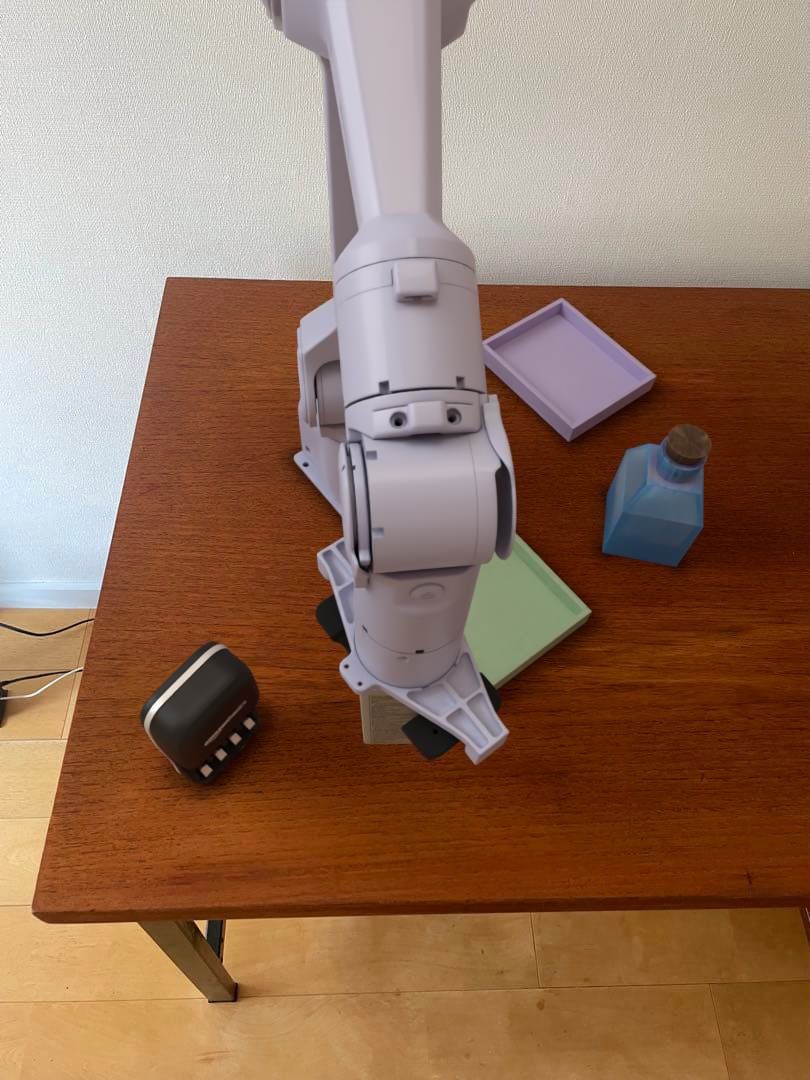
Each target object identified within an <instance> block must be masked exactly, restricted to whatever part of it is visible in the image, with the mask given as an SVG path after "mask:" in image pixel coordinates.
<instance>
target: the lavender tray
mask: <svg viewBox="0 0 810 1080" xmlns="http://www.w3.org/2000/svg"><path fill="white" fill-rule="evenodd" d="M482 343H483V354H484V365H485V366H486V367H487V369H489V370H490V371H491V372H493V374H494V375H496V377H498V378H499V379H500V380H501V381H502V382H503V383H504V384H505V385H507V387H509V388H510V389H511V390H512V391H513V392H514V393H515V394H516V395H517V396H518V397H519V398H520V399H522V400H523V401H524V402H525V403H526V404H527V405H528V407H530V408H531V409H532V410H533V411H535V413H537V414H538V416H540V417H541V418H542V419H543V420H544V421H545V422H546V423H547V424H548V425H549V426H551V428H552V429H554V430H555V431H556V432H557V433H558V434H559V435H560V436H561V437H562V438H563V439H564V440H565V441H567V442H568V443H570V442H571V441H573V440H574V439H576V438H578V437H579V436H580V435H583V434H584V433H586V432H587V431H588V430H590V429H591V428H593V427H595V426H597V425H598V424H599V423H601V422H602V421H604V420H606V419H607V418H609V417H610V416H612V415H614V414H615V413H617V412H618V411H620V410H622V409H623V408H624V407H626V406H627V405H630V404H631V403H632V402H634V401H635V400H637V399H638V398H640V397H642V396H643V395H644V394H646V393H647V392H649V391H652V387H653V385H654V383H655V382H656V378H657V375H656V374H655V373H654V372H653V371H651V370H650V369H649V368H648V367H646V366H645V365H644V364H643V363H641V362H640V360H638V359H637V358H636V357H634V356H633V355H632V354H631V353H630V352H629V351H627V350H626V349H625V348H624V347H622V346H621V345H620V344H619V343H617V341H615V340H614V339H613V338H611V336H609V335H608V334H607V333H606V332H604V330H602V329H601V328H600V327H598V326H597V324H594V323H593V322H592V321H591V320H590V319H589V318H587V317H586V315H584V314H583V313H582V312H580V311H579V310H578V309H577V308H576V307H574V306H573V305H572V304H571V303H569V302H568V301H567V300H566V299H564V298H563V297H560V298H559V299H556V300H555V301H553V302H551V303H549V304H547V305H546V306H544V307H542V308H540V309H538V310H537V311H534V312H533V313H531V314H530V315H527V316H526V317H524V318H522V319H521V320H519V321H517V322H515V323H513V324H512V325H510V326H508V327H506V328H504V329H501V331H498V332H497V333H495V334H493V335H491V336H490V337H487V338H486V339H484V340H482Z"/></svg>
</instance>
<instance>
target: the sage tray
mask: <svg viewBox="0 0 810 1080" xmlns="http://www.w3.org/2000/svg"><path fill="white" fill-rule="evenodd" d="M591 614H592V609H590V608H589V607H588V606H587V605H586V603H584V602H583V601H582V599H580V598H579V596H578V595H577V594H576V593H575V592H574V591H573V590H572V589H571V588H570V587H569V586H568V585H567V584H566V583H565V582H564V581H563V580H562V579H561V578H560V577H559V576H558V575H557V574H556V572H554V571H553V570H552V569H551V567H549V565H548V564H546V563H545V562H544V560H543V559H542V558H541V557H540V556H539V555H538V554H537V553H536V552H535V551H534V550H533V549H532V548H531V547H530V546H529V545H528V544H527V543H526V542H525V541H524V540H523V538H522V537H521V536H519V535H518V534H517V532H515V539H514V545H513V549H512V552H511V554H510V556H509V558H508V559H507V560H501V559H500V558H499V557H498V556H497V555H496V553H495V551H494V554H493V557H492V559H491V561H490V562H489V563H488V564H481V567H480V571H479V575H478V579H477V583H476V587H475V591H474V594H473V598H472V602H471V606H470V610H469V614H468V618H467V621H466V625H465V629H464V634H465V636H466V639H467V642H468V644H469V647H470V649H471V652H472V655H473V657H474V660H475V663H476V665H477V668H478V670H479V672H481V673H483V674H484V675H485V677H486V678H487V679H488V680H489V681H490V682H491V684H492V685H493V686H494V687H495V688H496V689H497V690H498V689H500V688H501V687H503V685H505V684H506V683H508V682H509V681H511V680H512V679H514V678H515V677H516V676H517V675H518V674H520V673H521V672H522V671H524V670H525V669H526V668H527V667H529V666H530V665H531V664H533V663H534V662H535V661H537V660H538V659H539V658H541V657H542V656H543V655H545V654H546V653H548V651H550V650H551V649H552V648H554V647H555V646H557V645H558V644H559V643H561V642H562V641H563V640H565V639H566V638H567V637H569V635H571V634H572V633H574V632H575V631H576V630H578V629H579V628H581V626H583V625H584V624H586V623H587V621H588V619H589V618H590V616H591Z"/></svg>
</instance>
